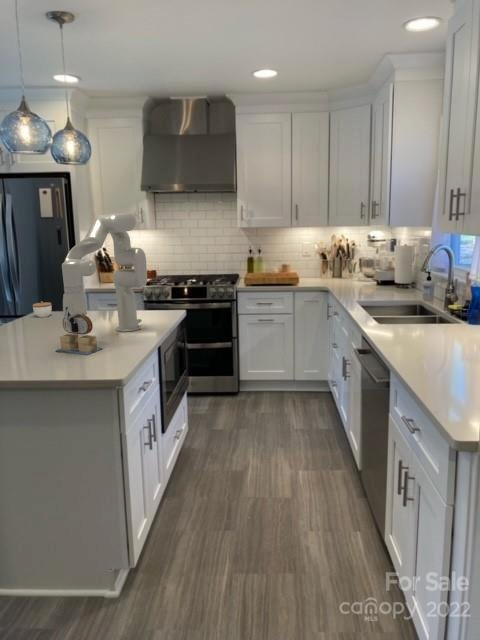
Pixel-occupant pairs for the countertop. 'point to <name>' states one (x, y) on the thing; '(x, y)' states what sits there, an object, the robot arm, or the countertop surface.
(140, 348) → the countertop surface
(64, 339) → the bridge base
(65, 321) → the tin
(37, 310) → the lidded jar
